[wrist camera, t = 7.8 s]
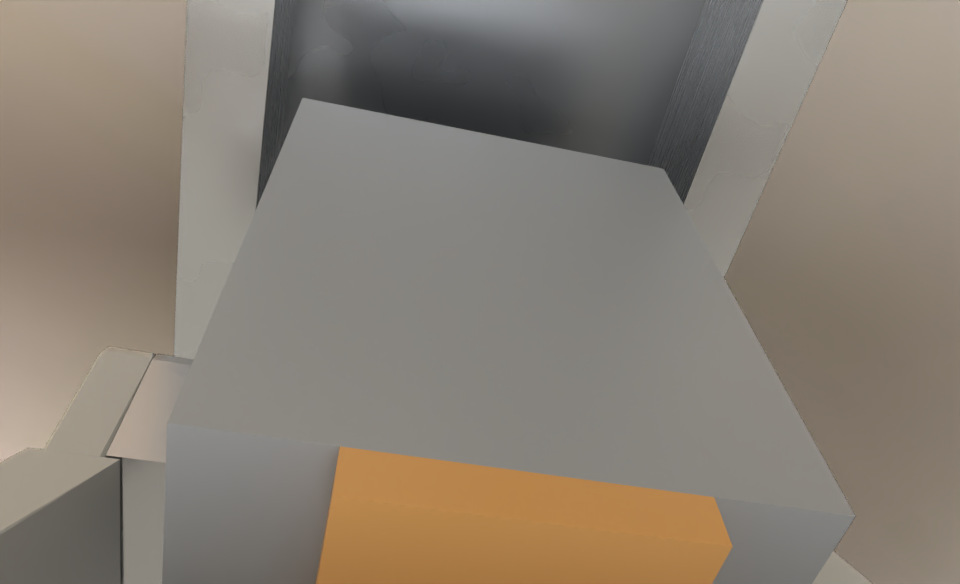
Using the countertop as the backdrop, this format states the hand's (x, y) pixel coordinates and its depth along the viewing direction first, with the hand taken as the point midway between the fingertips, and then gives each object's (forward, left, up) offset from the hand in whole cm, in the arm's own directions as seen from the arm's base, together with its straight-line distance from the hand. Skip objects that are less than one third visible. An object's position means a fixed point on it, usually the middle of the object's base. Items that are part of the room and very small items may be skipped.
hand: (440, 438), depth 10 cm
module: (0, 0, -2) cm, 2 cm away
